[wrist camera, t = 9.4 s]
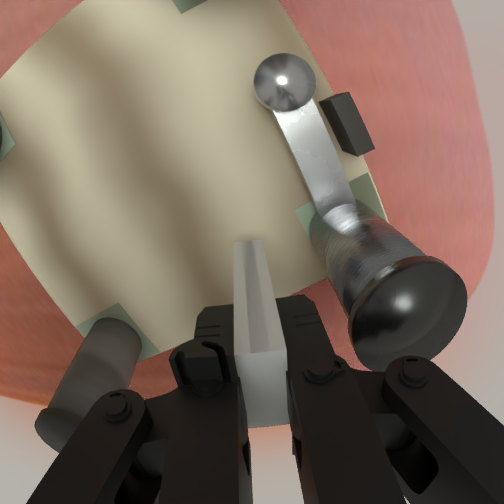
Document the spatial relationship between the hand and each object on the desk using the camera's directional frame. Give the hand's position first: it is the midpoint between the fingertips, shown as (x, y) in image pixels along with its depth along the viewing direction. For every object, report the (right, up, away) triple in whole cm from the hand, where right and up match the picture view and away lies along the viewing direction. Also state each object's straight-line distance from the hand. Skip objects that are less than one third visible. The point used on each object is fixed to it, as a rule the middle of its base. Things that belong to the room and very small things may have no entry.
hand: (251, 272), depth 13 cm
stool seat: (-5, +5, +2) cm, 8 cm away
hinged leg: (+3, +4, 0) cm, 5 cm away
